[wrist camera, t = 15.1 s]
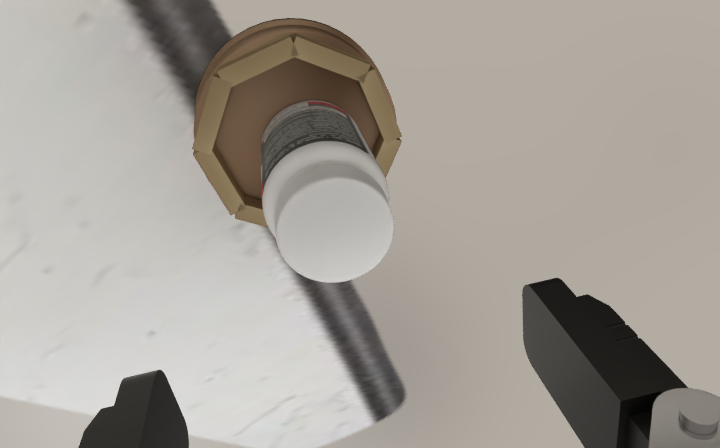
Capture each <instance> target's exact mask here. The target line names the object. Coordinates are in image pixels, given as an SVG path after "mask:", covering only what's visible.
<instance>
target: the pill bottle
mask: <svg viewBox="0 0 720 448" xmlns="http://www.w3.org/2000/svg"><path fill="white" fill-rule="evenodd" d="M260 156H261V187H262V208H263V213H264V217H265V220H266V223H267V225H268V227H269V229H270V231H271V232H272V234H273V235H274V237H275V238H276V241H277V245H278V248H279V251H280V253H281V255H282V256H283V258H284V260H285V261H286V262H287V264H288V265H289V266H290V267H291V268H292V269H294V270H295V271H296V272H298V273H299V274H301V275H302V276H304V277H307V278H309V279H312V280H315V281H319V282H328V283H333V282H334V283H335V282H344V281H348V280H352V279H355V278H357V277H359V276H361V275H363V274H365V273H367V272H368V271H370V270H371V269H373V268H374V267H375V266H376V265H377V264H378V263H379V262H380V261H381V260H382V259H383V257H384V256H385V255H386V253H387V251H388V249H389V247H390V245H391V242H392V239H393V235H394V219H393V214H392V211H391V208H390V206H389V190H388V185H387V182H386V179H385V176H384V174H383V171H382V169H381V167H380V166H379V164H378V162H377V161H376V159H375V157H374V155H373V153H372V152H371V150H370V148H369V146H368V144H367V142H366V141H365V139H364V137H363V135H362V133H361V131H360V129H359V127H358V126H357V124H356V122H355V121H354V120H353V118H352V117H351V116H350V115H349V114H348V113H347V112H345V111H344V110H343V109H341V108H339V107H338V106H336V105H333V104H331V103H328V102H324V101H317V100H309V101H302V102H299V103H295V104H293V105H291V106H288V107H287V108H285V109H283V110H282V111H280V112H279V113H278V114H277V115H276V116H275V117H274V118H273V119H272V120H271V121H270V123H269V124H268V126H267V127H266V129H265V132H264V134H263V137H262V141H261V148H260Z"/></svg>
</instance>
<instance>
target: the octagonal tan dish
mask: <svg viewBox="0 0 720 448" xmlns="http://www.w3.org/2000/svg"><path fill="white" fill-rule="evenodd" d="M309 100H317V101H324V102H328V103H331V104H333V105H336V106H338V107H339V108H341V109H343V110H344V111H345V112H347V113H348V114H349V115H350V116H351V117H352V118H353V120H354V121H355V122H356V124H357V126H358V127H359V129H360V131H361V133H362V135H363V137H364V139H365V141H366V142H367V144H368V146H369V148H370V150H371V152H372V153H373V155H374V157H375V159H376V161H377V162H378V164H379V166H380V167H381V169H382V171H383V174H384V176H385V178H386V176H387V174H388V171H389V169H390V167H391V165H392V162H393V160H394V158H395V156H396V153H397V151H398V149H399V146H400V144H401V140H400V139H399V137H401V136H402V135H401V133H400V130H399V128H398V126H397V123H396V115H395V109H394V105H393V102H392V99H391V96H390V94H389V92H388V89H387V87H386V85H385V83H384V81H383V78H382V76H381V74H380V72H379V70H378V69H377V67H376V66H375V64H374V62H373V61H372V59H371V58H370V57H369V56H368V55H367V54H366V52H365V51H364V50H363V49H362V48H361V47H360V46H359V45H358V44H356V42H354V41H353V40H352V39H351V38H350V37H348V36H347V35H345V34H343V33H342V32H340V31H339V30H337V29H335V28H332V27H330V26H328V25H326V24H322V23H319V22H316V21H312V20H306V19H294V18H286V19H277V20H271V21H267V22H263V23H260V24H257V25H255V26H252V27H250V28H248V29H246V30H244V31H242V32H241V33H239V34H237V35H236V36H234V37H233V38H232V39H231V40H229V41H228V42H227V43H226V44H225V45H224V46H223V47H222V48H221V49H220V50H219V51H218V52H217V53H216V55H215V56H214V57H213V59H212V60H211V62H210V63H209V65H208V67H207V69H206V71H205V72H204V74H203V77H202V80H201V83H200V85H199V88H198V92H197V97H196V102H195V121H194V138H195V141H194V144H193V148H192V149H194V153H193V155H194V157H195V158H196V160H197V162H198V163H199V165H200V166H201V168H202V170H203V171H204V173H205V175H206V177H207V179H208V180H209V182H210V183H211V185H212V186H213V187H214V189H215V191H216V192H217V194H218V195H219V197H220V199H221V200H222V202H223V203H224V205H225V207H226V208H227V210H228V211H229V213H230V215H233V214H235V213H236V215H235V219H239V220H243V221H247V222H250V223H254V224H258V225H261V226H265V227H268V225H267V223H266V220H265V217H264V213H263V208H262V187H261V156H260V148H261V141H262V137H263V134H264V132H265V129H266V127H267V126H268V124H269V123H270V121H271V120H272V119H273V118H274V117H275V116H276V115H277V114H278V113H279V112H280V111H282V110H283V109H285V108H287V107H288V106H291V105H293V104H295V103H299V102H302V101H309Z"/></svg>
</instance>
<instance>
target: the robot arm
mask: <svg viewBox="0 0 720 448" xmlns="http://www.w3.org/2000/svg"><path fill="white" fill-rule="evenodd" d="M522 296H523V339H524V345H525V350H526V353H527V356H528V359H529V361H530V363H531V365H532V367H533V368H534V370H535V371H536V373H537V374H538V376H539V378H540V379H541V381H542V382H543V384H544V385H545V387H546V388H547V390H548V392H549V393H550V394H551V396H552V398H553V399H554V401H555V402H556V404H557V405H558V407H559V408H560V410H561V412H562V413H563V415H564V416H565V418H566V419H567V421H568V422H569V424H570V425H571V427H572V429H573V430H574V432H575V433H576V435H577V436H578V438H579V439H580V441H581V443H582V444H583V446H584V447H585V448H720V397H718V396H716V395H714V394H712V393H709V392H706V391H702V390H699V389H692V388H688V387H687V386H686V385H685V384H684V383H683V382H682V381H681V380H680V379H679V378H678V377H677V376H676V375H675V374H674V373H673V372H672V370H671V369H670V368H669V367H668V366H667V365H666V364H665V363H664V362H663V361H662V360H661V359H660V358H659V357H658V356H657V355H656V354H655V353H654V352H653V351H652V350H651V349H650V348H649V347H648V345H647V344H645V342H644V341H643V340H642V339H640V338H638V337H637V334H636V333H635V332H634V331H633V330H632V329H631V328H630V327H629V326H628V325H625V322H624V321H623V319H621V318H620V316H619V315H618V314H617V313H616V312H615V311H614V310H613V309H612V308H611V307H610V306H609V305H607V304H604V303H603V302H601V301H599V300H597V299H595V298H593V297H591V296H590V295H583V296H579V297H576V296H575V295H574V293H573V292H572V291H571V290H570V289H569V288H568V287H567V285H565V283H564V282H563V281H562V280H561V279H559V278H554V279H549V280H545V281H541V282H537V283H532V284H529V285H525V286H524V288H523V294H522ZM79 448H189V439H188V431H187V426H186V422H185V419H184V417H183V415H182V412H181V410H180V408H179V405H178V403H177V401H176V399H175V396H174V394H173V392H172V389H171V387H170V385H169V382H168V380H167V378H166V376H165V374H164V373H163V371H161V370H157V371H152V372H148V373H144V374H140V375H135V376H131V377H127V378H124V379H123V380H122V382H121V384H120V388H119V391H118V394H117V398H116V401H115V404H114V406H111V407H107V408H103V409H101V410H100V411H99V412H98V414H97V415H96V416H95V418H94V419H93V420H92V422H91V423H90V424H89V425H88V427H87V428H86V429H85V431H84V433H83V437H82V440H81V442H80V445H79Z"/></svg>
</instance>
